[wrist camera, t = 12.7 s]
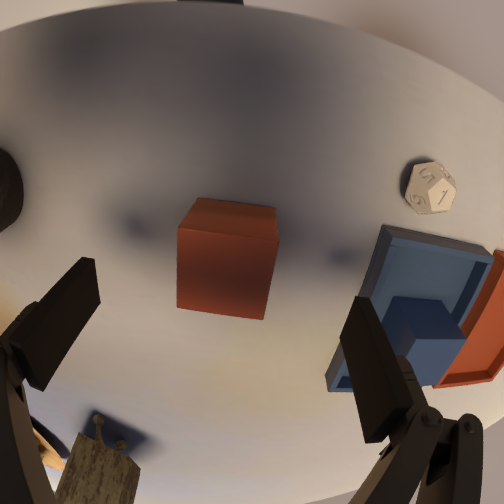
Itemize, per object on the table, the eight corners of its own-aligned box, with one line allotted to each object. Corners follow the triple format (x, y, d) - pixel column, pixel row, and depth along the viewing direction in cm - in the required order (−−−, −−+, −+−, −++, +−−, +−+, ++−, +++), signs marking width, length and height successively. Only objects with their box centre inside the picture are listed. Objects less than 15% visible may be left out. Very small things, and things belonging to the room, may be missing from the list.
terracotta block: (197, 197, 19) (177, 227, 15) (275, 207, 19) (279, 241, 15) (193, 265, 22) (176, 308, 17) (263, 274, 22) (263, 320, 17)
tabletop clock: (91, 403, 32) (33, 564, 9) (153, 433, 34) (116, 596, 11) (78, 434, 37) (36, 553, 15) (126, 457, 39) (96, 578, 17)
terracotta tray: (494, 249, 20) (507, 260, 18) (546, 263, 20) (557, 272, 18) (427, 375, 27) (432, 388, 25) (485, 370, 27) (491, 381, 25)
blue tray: (382, 224, 20) (392, 236, 18) (482, 246, 20) (495, 257, 18) (324, 375, 26) (327, 392, 25) (414, 376, 27) (419, 390, 25)
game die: (387, 190, 18) (406, 205, 16) (416, 145, 17) (439, 154, 14) (422, 217, 19) (442, 234, 16) (449, 175, 18) (473, 187, 15)
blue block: (392, 295, 22) (416, 339, 17) (441, 300, 22) (467, 339, 17) (371, 343, 24) (386, 388, 19) (417, 344, 24) (436, 385, 20)
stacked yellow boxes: (-29, 394, 41) (-57, 442, 26) (-12, 375, 34) (-53, 443, 19) (46, 457, 50) (27, 506, 35) (89, 457, 42) (67, 524, 28)
